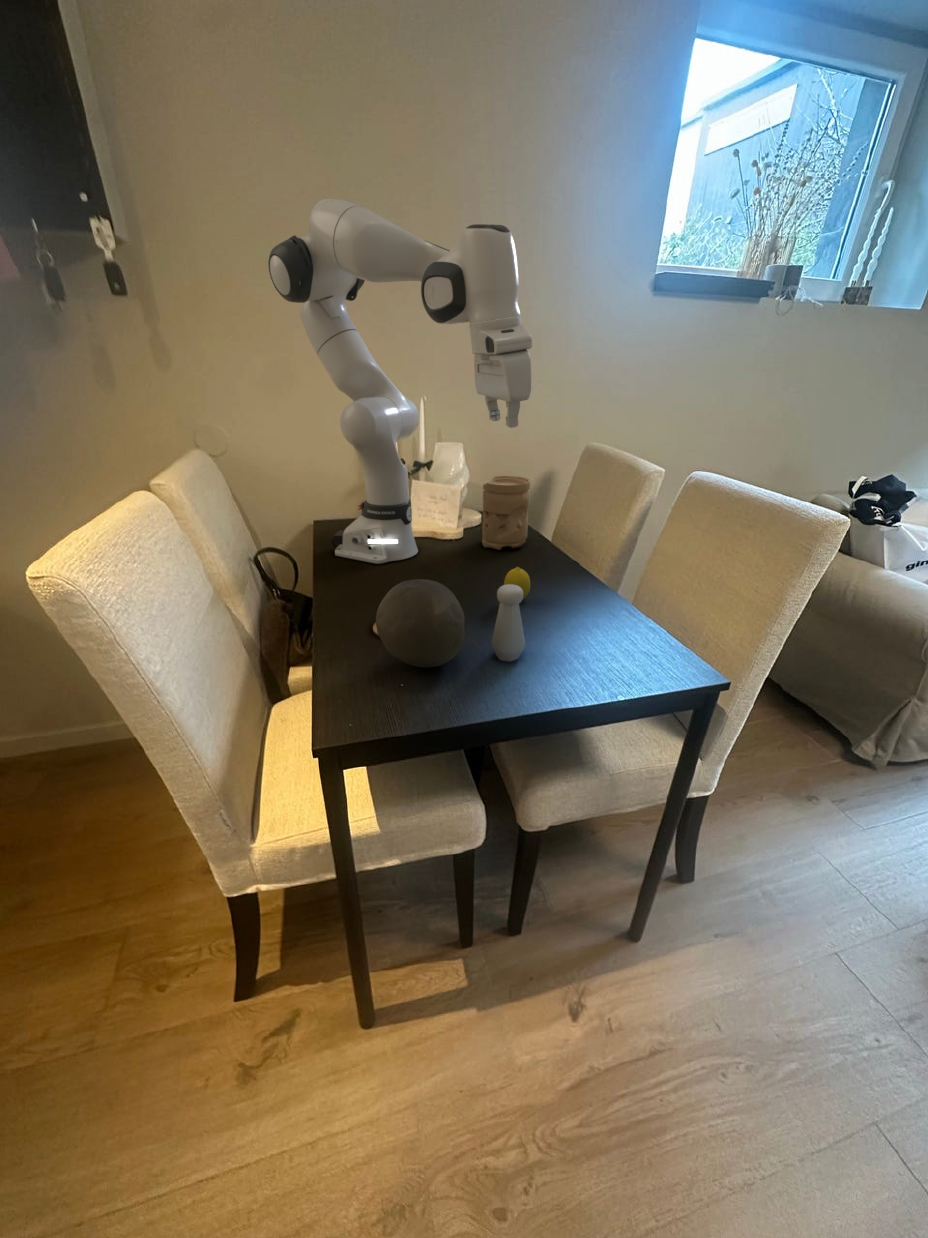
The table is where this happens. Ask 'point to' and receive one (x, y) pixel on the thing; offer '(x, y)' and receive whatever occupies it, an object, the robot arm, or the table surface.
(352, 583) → the table surface
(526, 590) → the lemon
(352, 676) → the table surface
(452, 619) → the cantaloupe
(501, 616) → the salt shaker
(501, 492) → the container
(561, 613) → the table surface
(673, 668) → the table surface
